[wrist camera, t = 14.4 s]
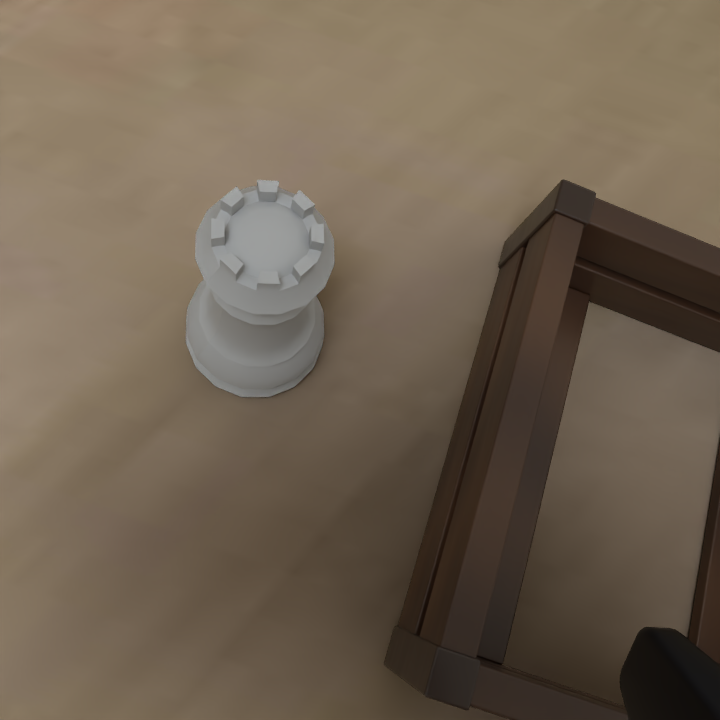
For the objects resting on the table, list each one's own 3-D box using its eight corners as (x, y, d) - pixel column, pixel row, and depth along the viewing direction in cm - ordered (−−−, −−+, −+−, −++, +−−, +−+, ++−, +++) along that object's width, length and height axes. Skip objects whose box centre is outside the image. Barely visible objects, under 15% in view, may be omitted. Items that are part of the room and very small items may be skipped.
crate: (765, 791, 22) (898, 852, 18) (382, 665, 21) (423, 696, 17) (816, 363, 27) (932, 328, 22) (505, 240, 26) (562, 177, 21)
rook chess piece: (235, 428, 22) (239, 366, 14) (158, 315, 22) (123, 197, 15) (347, 354, 23) (406, 262, 16) (273, 249, 24) (294, 110, 16)
